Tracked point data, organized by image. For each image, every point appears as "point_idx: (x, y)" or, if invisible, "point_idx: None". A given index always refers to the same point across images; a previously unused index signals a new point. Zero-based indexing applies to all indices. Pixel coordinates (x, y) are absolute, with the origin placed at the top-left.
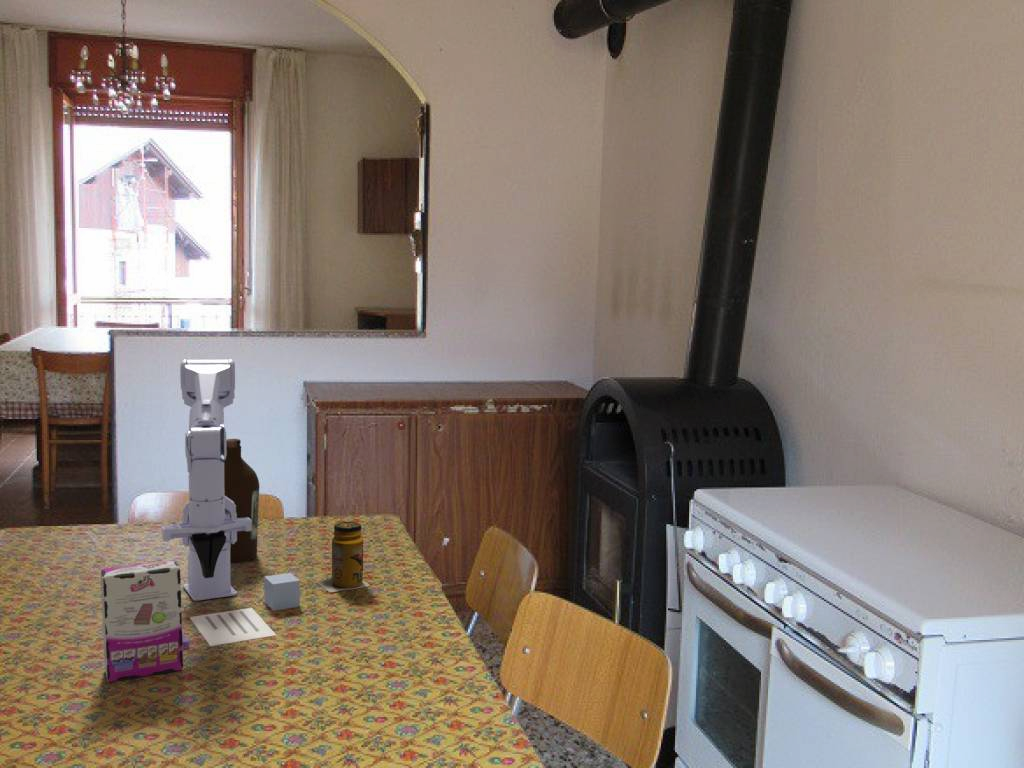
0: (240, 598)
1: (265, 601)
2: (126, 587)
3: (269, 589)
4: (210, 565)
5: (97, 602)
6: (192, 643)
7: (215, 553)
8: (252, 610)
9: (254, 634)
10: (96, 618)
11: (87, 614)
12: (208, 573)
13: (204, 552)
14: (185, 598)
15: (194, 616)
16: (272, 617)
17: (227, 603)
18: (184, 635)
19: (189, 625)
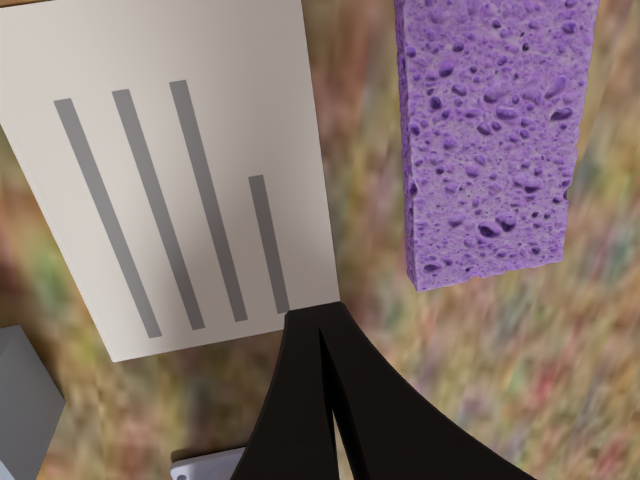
0: (159, 441)
1: (59, 400)
2: None
3: (9, 417)
4: (321, 365)
5: (558, 456)
6: (370, 35)
7: (288, 455)
8: (107, 337)
9: (76, 60)
10: (601, 357)
11: (610, 387)
12: (327, 319)
13: (422, 451)
14: None
15: None
16: (11, 256)
17: (204, 409)
18: (408, 71)
19: (352, 245)
